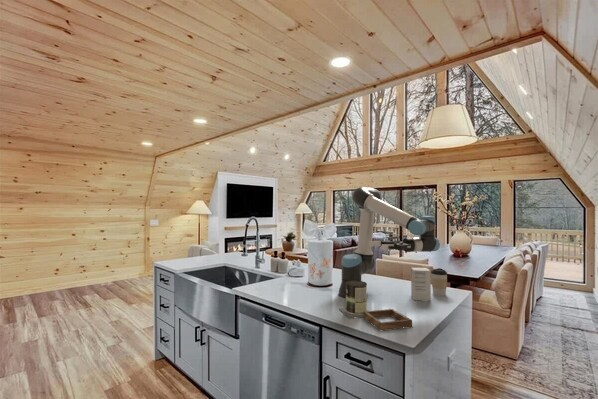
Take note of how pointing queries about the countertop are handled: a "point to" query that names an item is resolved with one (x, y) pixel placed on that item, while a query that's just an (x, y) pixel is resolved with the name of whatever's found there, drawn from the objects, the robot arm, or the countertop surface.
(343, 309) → the mat
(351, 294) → the coffee can
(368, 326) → the countertop surface
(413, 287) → the supplement box
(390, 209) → the robot arm
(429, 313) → the countertop surface
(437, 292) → the coffee cup
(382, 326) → the brown wooden square frame
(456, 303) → the countertop surface
